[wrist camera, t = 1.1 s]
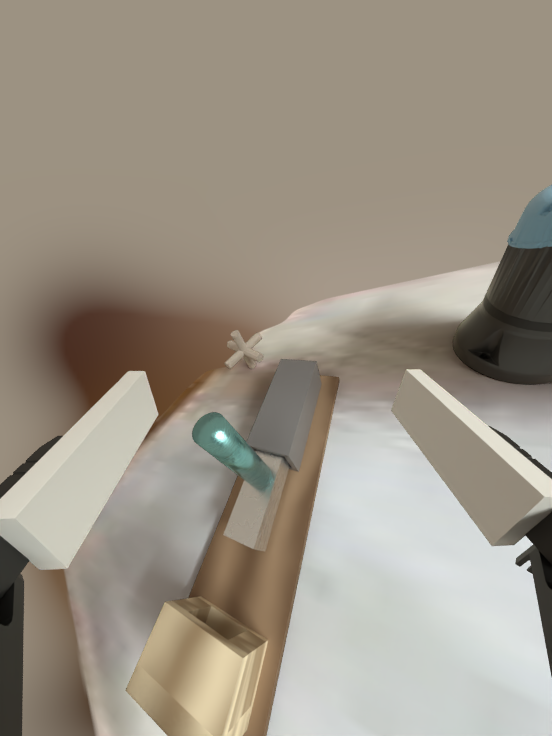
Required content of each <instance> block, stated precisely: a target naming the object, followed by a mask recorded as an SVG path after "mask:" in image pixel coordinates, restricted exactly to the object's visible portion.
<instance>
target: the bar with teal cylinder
mask: <svg viewBox="0 0 552 736" xmlns="http://www.w3.org/2000/svg"><path fill="white" fill-rule="evenodd" d="M192 437H193V440H194V442H195V443H197V444H198V445H199V446H200V447H202V448H203V449H204V450H206V451H207V452H208V453H210V454H211V455H212V456H213V457H215V458H216V459H217V460H219V461H220V462H221V463H223V464H224V465H225V466H226V467H228V468H229V469H230V470H232V471H233V472H234V473H236V474H237V475H238V476H239V477H241V478H242V479H243V480H244V482H243V485H242V487H241V490H240V493H239V495H238V498H237V500H236V503H235V505H234V508H233V511H232V513H231V516H230V518H229V521H228V524H227V526H226V529H225V531H224V534H223V535H225V536H227V537H229V538H231V539H233V540H235V541H237V542H239V543H241V544H244V545H246V546H248V547H250V548H252V549H255V550H260V551H265V550H266V547H267V543H268V540H269V536H270V533H271V529H272V526H273V522H274V519H275V515H276V512H277V508H278V505H279V501H280V498H281V494H282V491H283V487H284V484H285V480H286V477H287V473H288V470H289V466H290V464H289V463H288V461H287V460H286V459H285V457H284V456H280V455H276V454H272V453H268V452H264V451H260V450H257V449H256V451H254V450H253V449H252V448H251V447H250V446H249V445H248V443H247V442H246V441H245V440H244V439H243V438H242V437H241V436H240V435H239V434H238V432H237V431H236V430H235V429H234V428H233V427H232V426H231V425H230V424H229V422H228V421H227V420H226V419H225V418H224V417H223V416H222V415H221V414H219V413H216V412H212V413H208V414H206V415H204V416H203V417H201V418H200V419H199V420H198V421H197V423H196V424H195V426H194V428H193V432H192Z"/></svg>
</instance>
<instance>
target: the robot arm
mask: <svg viewBox="0 0 552 736" xmlns="http://www.w3.org/2000/svg"><path fill="white" fill-rule="evenodd" d="M507 242H508V246H507V249H506V251H505V253H504V255H503V258H502V260H501V262H500V264H499V266H498V268H497V271H496V273H495V275H494V277H493V279H492V282H491V284H490V286H489V288H488V290H487V293H486V295H485V297H484V299H483V301H482V302H481V303H480V304H479V305H478V306H477V308H476V309H475V310H474V311H473V312H472V313H471V314H470V315H469V316H468V317H467V318H466V319H465V320H464V321H463V322H462V323H461V324H460V325H459V327H458V329H457V331H456V334H455V336H454V339H453V348H454V351H455V353H456V354H457V356H458V357H459V358H460V359H461V360H462V361H463V362H464V363H465V364H466V365H468V366H469V367H470V368H472V369H474V370H475V371H477V372H479V373H481V374H484V375H486V376H488V377H491V378H494V379H498V380H501V381H506V382H511V383H518V384H545V383H551V382H552V185H550V186H548V187H547V188H545V189H544V190H542V191H541V192H540V193H538V194H537V195H536V196H535V197H534V198H533V199H532V200H531V201H530V202H529V203H528V205H527V206H526V208H525V210H524V212H523V214H522V216H521V218H520V219H519V222H518V223H517V226H516V227H515V229H514V230H513V231H512V233H511V234H510V235H509V238H508V241H507ZM391 411H392V412H393V414H394V415H395V416H396V418H397V419H398V420H399V422H400V423H401V424H402V426H403V427H404V428H405V430H406V431H407V432H408V434H409V435H410V437H411V438H412V439H413V441H414V442H415V443H416V445H417V446H418V447H419V449H420V450H421V451H422V453H423V454H424V455H425V457H426V458H427V459H428V461H429V462H430V463H431V465H432V466H433V467H434V469H435V470H436V471H437V473H438V474H439V476H440V477H441V478H442V480H443V481H444V482H445V484H446V485H447V486H448V488H449V489H450V490H451V492H452V493H453V494H454V496H455V497H456V498H457V500H458V501H459V502H460V504H461V505H462V506H463V508H464V509H465V510H466V512H467V513H468V515H469V516H470V517H471V519H472V520H473V521H474V523H475V524H476V525H477V527H478V528H479V529H480V531H481V532H482V533H483V535H484V536H485V537H486V539H487V540H488V541H489V543H490V544H491V545H492V546H504V545H515V544H516V543H517V542H518V541H519V540H521V539H522V538H523V537H524V536H525V535H526V536H527V538H528V539H529V540H530V541H531V542H532V543H533V544H534V545H532V546H531V547H530V548H529V549H527V550H526V551H525V552H523V553H522V554H521V555H520V556H518V557H517V558H516V565H518V566H522V565H523V564H524V563H526V562H527V561H528V560H530V561H531V566H530V567H529V568H528V569H527V571H528V572H530V573H532V574H533V578H534V583H535V589H536V594H537V599H538V605H539V610H540V616H541V621H542V627H543V632H544V638H545V643H546V648H547V654H548V659H549V665H550V670H551V676H552V472H550V471H549V470H548V469H547V468H545V467H544V466H543V465H542V464H541V463H539V462H538V461H537V460H536V459H532V456H531V455H529V454H528V453H527V452H526V451H525V450H523V449H520V446H518V445H517V444H516V443H515V442H513V441H512V440H511V439H510V438H509V437H507V436H506V435H504V434H503V433H501V432H499V431H497V430H496V429H494V428H492V427H490V426H487V425H486V424H485V423H484V422H483V421H481V420H480V419H479V418H478V417H477V416H475V415H474V414H473V413H472V412H471V411H469V410H468V409H467V408H466V407H465V406H463V405H462V404H461V403H460V402H459V401H457V400H456V399H455V398H454V397H453V396H451V395H450V394H449V393H448V392H447V391H445V390H444V389H443V388H442V387H441V386H439V385H438V384H437V383H436V382H435V381H434V380H432V379H431V378H430V377H429V376H428V375H426V374H425V373H424V372H423V371H422V370H420V369H406V371H405V374H404V376H403V379H402V382H401V385H400V387H399V390H398V393H397V396H396V398H395V401H394V404H393V407H392V409H391ZM157 416H158V411H157V408H156V405H155V402H154V399H153V395H152V392H151V389H150V386H149V382H148V380H147V376H146V373H145V371H128V372H127V373H126V374H125V375H124V376H123V377H122V378H121V379H120V380H119V381H118V382H117V383H116V384H115V385H114V386H113V387H112V388H111V389H110V390H109V391H108V392H107V393H106V394H105V395H104V396H103V397H102V398H101V399H100V400H99V401H98V402H97V403H96V404H95V405H94V406H93V407H92V408H91V409H90V410H89V411H88V412H87V413H86V414H85V415H84V416H83V417H82V418H81V419H80V420H79V421H78V422H77V423H76V424H75V425H74V426H73V427H72V428H71V429H70V430H69V431H68V432H67V433H66V434H65V435H64V436H57V437H55V438H54V439H52V440H51V441H49V442H47V443H46V444H44V445H43V446H41V447H40V448H39V449H38V450H37V451H35V452H34V453H33V454H32V455H31V456H30V457H29V458H28V459H27V460H26V463H25V464H22V465H21V466H20V467H19V468H17V470H15V471H14V472H13V475H10V476H9V477H8V478H7V479H6V480H5V481H4V482H3V483H1V485H0V736H22V690H23V620H24V618H23V617H24V580H23V577H22V575H21V574H20V573H21V572H22V570H23V569H24V567H25V566H26V565H27V563H28V562H29V561H30V562H31V563H32V564H33V565H35V566H36V567H37V568H38V569H39V570H49V569H67V568H68V567H69V565H70V563H71V562H72V560H73V558H74V557H75V555H76V553H77V551H78V550H79V548H80V546H81V545H82V543H83V541H84V540H85V538H86V536H87V535H88V533H89V531H90V529H91V528H92V526H93V524H94V523H95V521H96V519H97V518H98V516H99V514H100V513H101V511H102V509H103V507H104V506H105V504H106V502H107V501H108V499H109V497H110V496H111V494H112V492H113V490H114V489H115V487H116V485H117V484H118V482H119V480H120V479H121V477H122V475H123V474H124V472H125V470H126V468H127V467H128V465H129V463H130V462H131V460H132V458H133V457H134V455H135V453H136V452H137V450H138V448H139V446H140V445H141V443H142V441H143V440H144V438H145V436H146V435H147V433H148V431H149V429H150V428H151V426H152V424H153V423H154V421H155V419H156V418H157Z"/></svg>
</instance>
